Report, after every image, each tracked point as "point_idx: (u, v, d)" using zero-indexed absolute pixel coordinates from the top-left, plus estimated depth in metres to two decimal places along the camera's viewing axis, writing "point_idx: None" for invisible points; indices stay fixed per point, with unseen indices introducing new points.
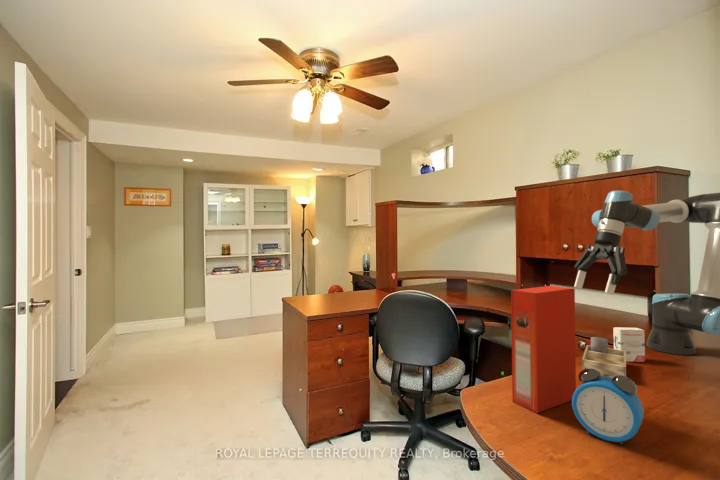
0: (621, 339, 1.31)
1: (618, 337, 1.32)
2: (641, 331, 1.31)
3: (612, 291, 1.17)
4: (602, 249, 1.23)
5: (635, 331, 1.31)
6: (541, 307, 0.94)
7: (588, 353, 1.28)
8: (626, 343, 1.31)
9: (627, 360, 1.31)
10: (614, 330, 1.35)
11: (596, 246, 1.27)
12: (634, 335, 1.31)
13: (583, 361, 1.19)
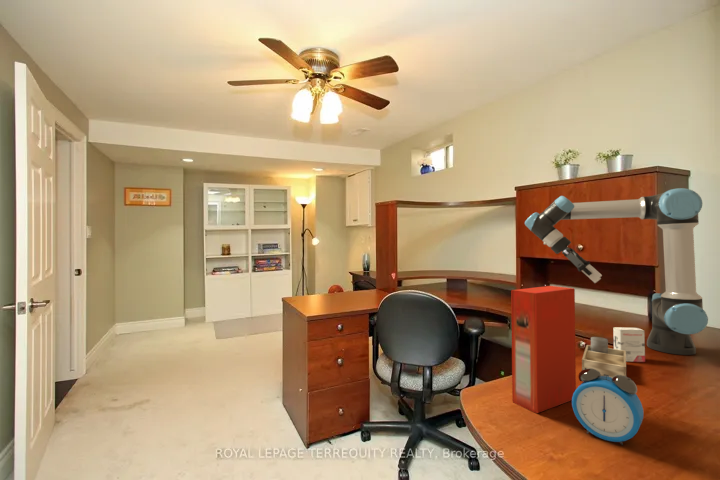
0: (621, 339, 1.31)
1: (618, 337, 1.32)
2: (641, 331, 1.31)
3: (597, 277, 1.37)
4: (565, 256, 1.48)
5: (635, 331, 1.31)
6: (541, 307, 0.94)
7: (588, 353, 1.28)
8: (626, 343, 1.31)
9: (627, 360, 1.31)
10: (614, 330, 1.35)
11: None
12: (634, 335, 1.31)
13: (583, 361, 1.19)
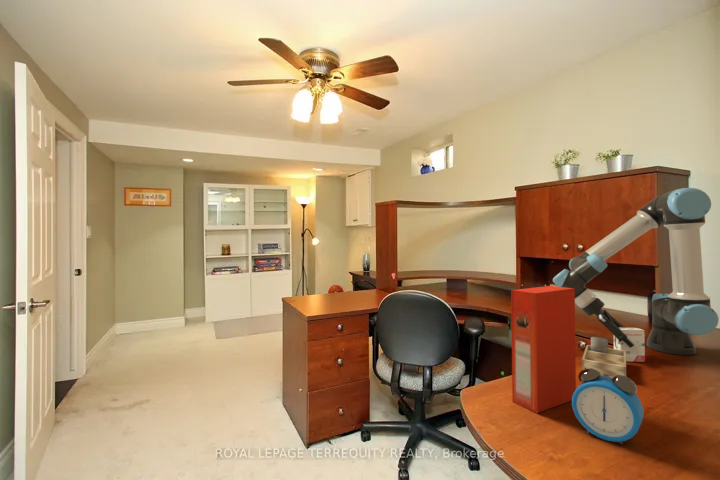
0: None
1: None
2: (641, 331, 1.30)
3: (639, 350, 1.27)
4: None
5: (635, 331, 1.31)
6: (541, 307, 0.94)
7: (588, 353, 1.28)
8: None
9: (627, 360, 1.31)
10: None
11: None
12: (634, 335, 1.31)
13: (583, 361, 1.19)
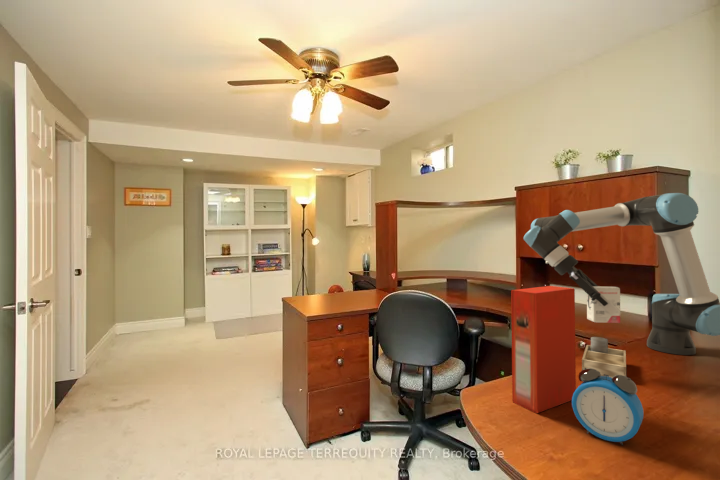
0: None
1: None
2: (616, 289, 1.18)
3: (614, 309, 1.15)
4: None
5: (610, 289, 1.18)
6: (541, 307, 0.94)
7: (588, 353, 1.28)
8: None
9: (600, 321, 1.18)
10: None
11: None
12: (608, 293, 1.18)
13: (583, 361, 1.19)
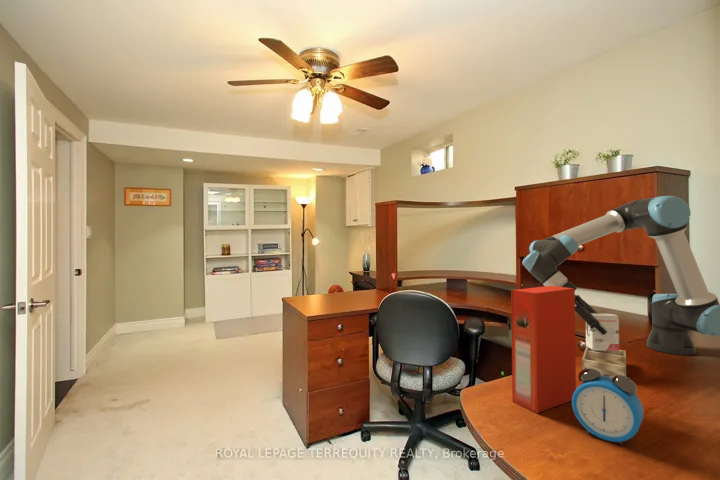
0: None
1: None
2: (615, 317, 1.18)
3: (613, 337, 1.15)
4: None
5: (608, 317, 1.18)
6: (541, 307, 0.94)
7: (588, 353, 1.28)
8: None
9: (599, 349, 1.18)
10: None
11: None
12: (607, 321, 1.18)
13: (583, 361, 1.19)
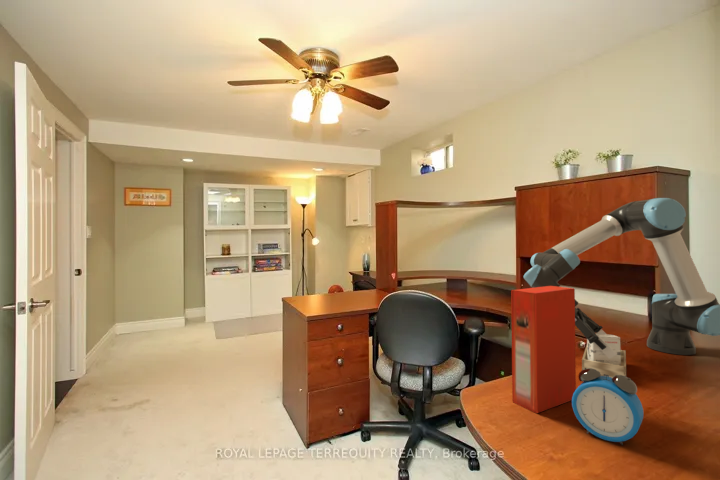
0: (594, 346, 1.19)
1: (591, 344, 1.20)
2: (616, 338, 1.18)
3: (612, 352, 1.14)
4: None
5: (609, 338, 1.18)
6: (541, 307, 0.94)
7: None
8: (599, 351, 1.18)
9: None
10: None
11: None
12: (608, 342, 1.18)
13: (583, 361, 1.19)
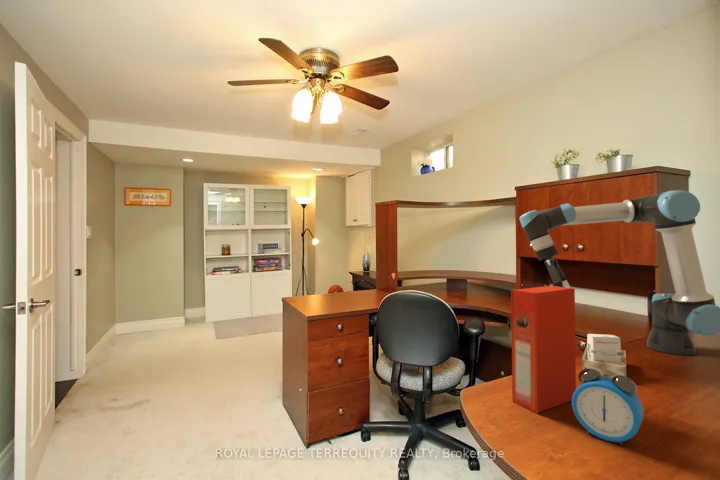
0: (594, 347, 1.19)
1: (591, 344, 1.20)
2: (617, 339, 1.18)
3: None
4: (546, 265, 1.37)
5: (610, 338, 1.18)
6: (541, 307, 0.94)
7: None
8: (599, 351, 1.18)
9: None
10: (588, 337, 1.22)
11: None
12: (608, 343, 1.18)
13: (583, 361, 1.19)
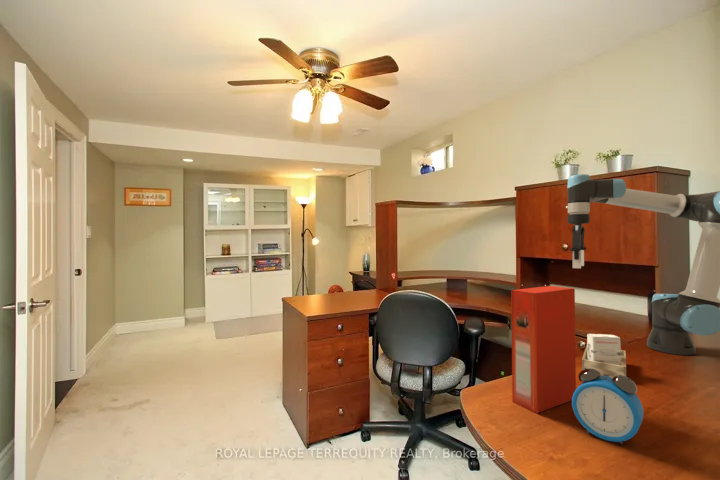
0: (594, 347, 1.19)
1: (591, 344, 1.20)
2: (616, 339, 1.18)
3: (578, 265, 1.34)
4: (572, 230, 1.40)
5: (610, 338, 1.18)
6: (541, 307, 0.94)
7: None
8: (599, 351, 1.18)
9: None
10: (588, 337, 1.22)
11: None
12: (608, 343, 1.18)
13: (583, 361, 1.19)
